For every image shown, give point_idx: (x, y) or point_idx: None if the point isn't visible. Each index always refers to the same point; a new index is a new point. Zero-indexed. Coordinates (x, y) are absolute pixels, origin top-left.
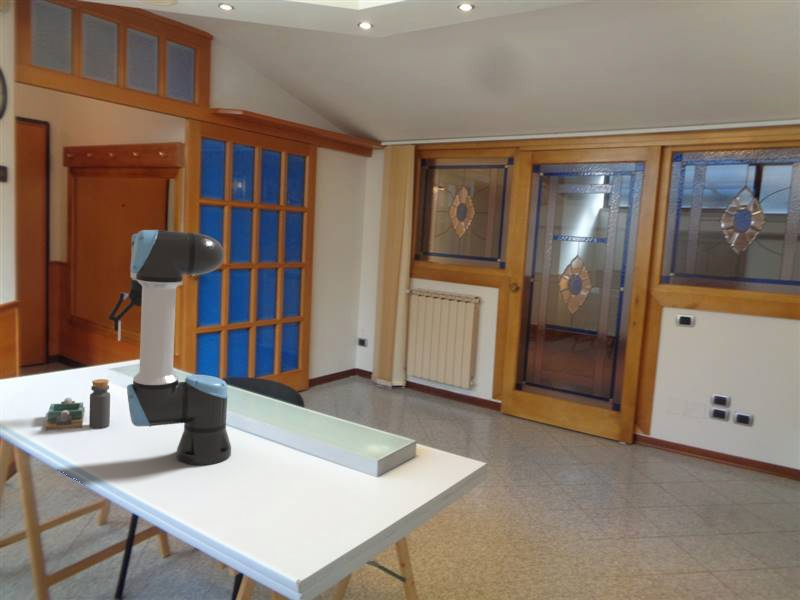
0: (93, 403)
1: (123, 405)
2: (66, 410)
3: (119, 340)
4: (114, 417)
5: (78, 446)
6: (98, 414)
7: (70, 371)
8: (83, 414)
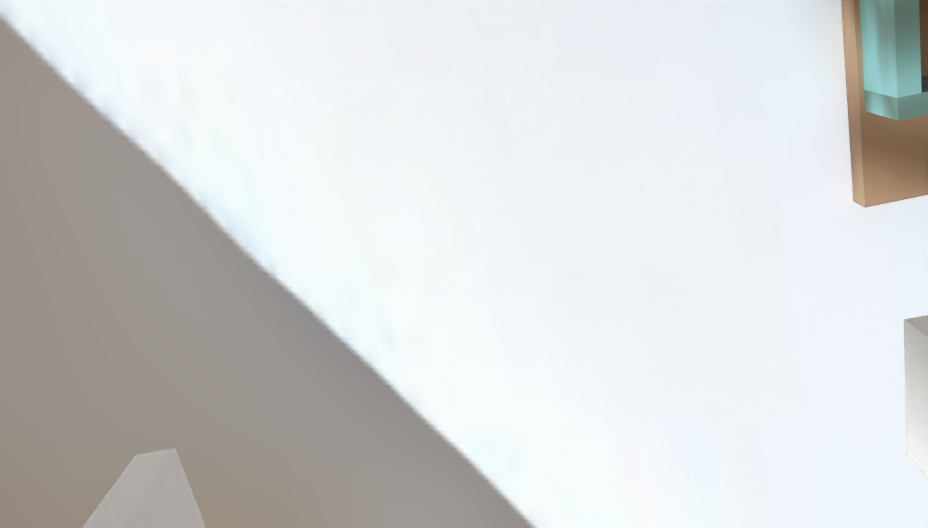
0: None
1: (622, 312)
2: None
3: (924, 318)
4: (639, 37)
5: None
6: None
7: None
8: (854, 30)
